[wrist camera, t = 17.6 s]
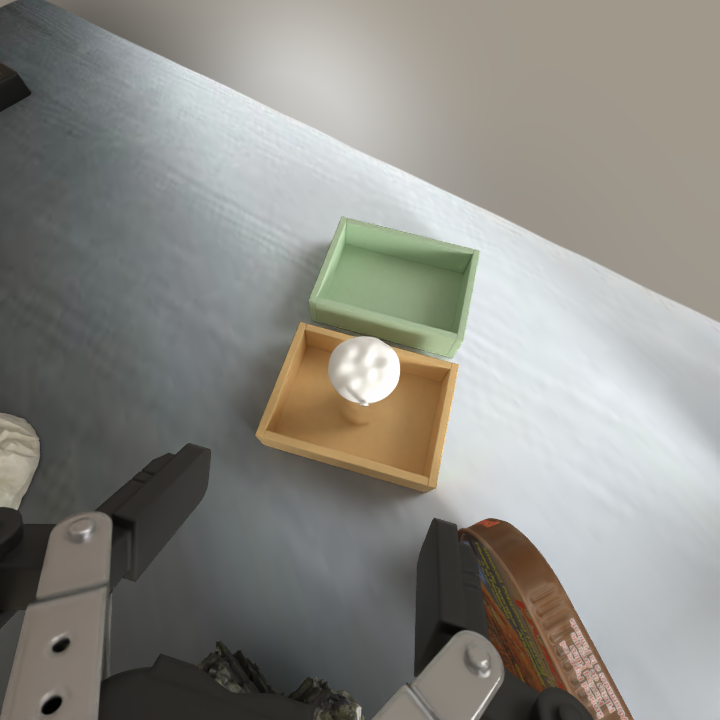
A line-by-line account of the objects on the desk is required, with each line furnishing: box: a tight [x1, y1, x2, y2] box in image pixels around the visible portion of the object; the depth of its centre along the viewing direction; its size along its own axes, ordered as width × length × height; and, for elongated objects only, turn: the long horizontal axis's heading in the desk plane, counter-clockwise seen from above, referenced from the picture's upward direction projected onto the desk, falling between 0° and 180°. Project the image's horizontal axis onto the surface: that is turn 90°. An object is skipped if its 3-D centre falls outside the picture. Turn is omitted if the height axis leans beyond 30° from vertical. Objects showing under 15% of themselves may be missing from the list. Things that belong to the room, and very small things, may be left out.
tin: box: [458, 518, 634, 720], centre depth 22 cm, size 15×3×8 cm, turn 22°
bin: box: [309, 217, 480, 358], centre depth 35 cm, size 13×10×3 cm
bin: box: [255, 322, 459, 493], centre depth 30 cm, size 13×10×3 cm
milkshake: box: [328, 336, 400, 426], centre depth 27 cm, size 4×5×10 cm
